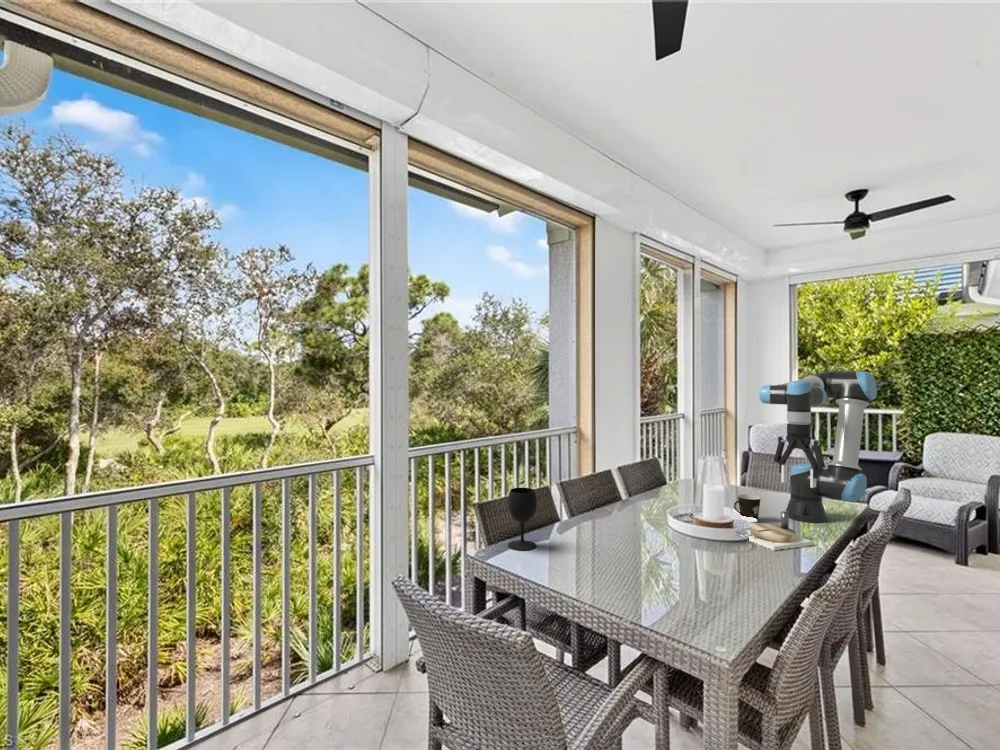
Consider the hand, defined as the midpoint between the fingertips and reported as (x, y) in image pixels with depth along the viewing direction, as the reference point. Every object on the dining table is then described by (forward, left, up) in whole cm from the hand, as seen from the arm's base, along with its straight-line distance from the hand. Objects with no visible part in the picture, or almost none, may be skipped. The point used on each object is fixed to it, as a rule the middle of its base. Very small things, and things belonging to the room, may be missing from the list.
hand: (798, 484), depth 182 cm
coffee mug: (-4, -29, -22) cm, 36 cm away
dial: (+6, -6, -20) cm, 21 cm away
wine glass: (+97, -29, -22) cm, 103 cm away
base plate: (+6, -6, -22) cm, 23 cm away
